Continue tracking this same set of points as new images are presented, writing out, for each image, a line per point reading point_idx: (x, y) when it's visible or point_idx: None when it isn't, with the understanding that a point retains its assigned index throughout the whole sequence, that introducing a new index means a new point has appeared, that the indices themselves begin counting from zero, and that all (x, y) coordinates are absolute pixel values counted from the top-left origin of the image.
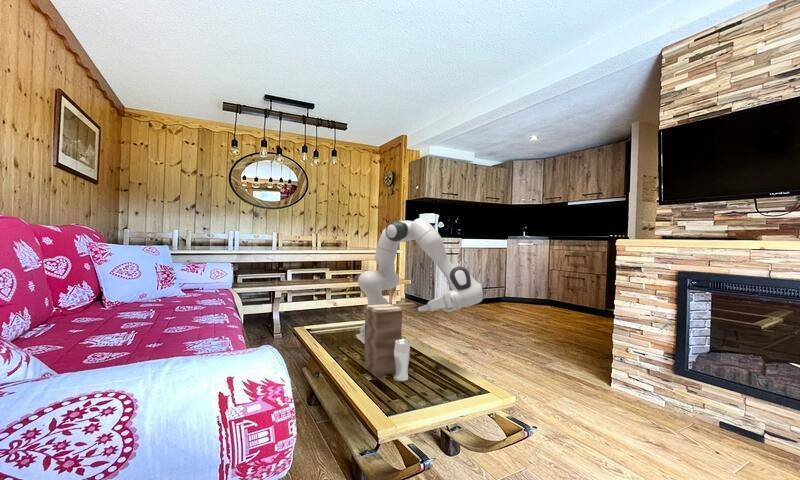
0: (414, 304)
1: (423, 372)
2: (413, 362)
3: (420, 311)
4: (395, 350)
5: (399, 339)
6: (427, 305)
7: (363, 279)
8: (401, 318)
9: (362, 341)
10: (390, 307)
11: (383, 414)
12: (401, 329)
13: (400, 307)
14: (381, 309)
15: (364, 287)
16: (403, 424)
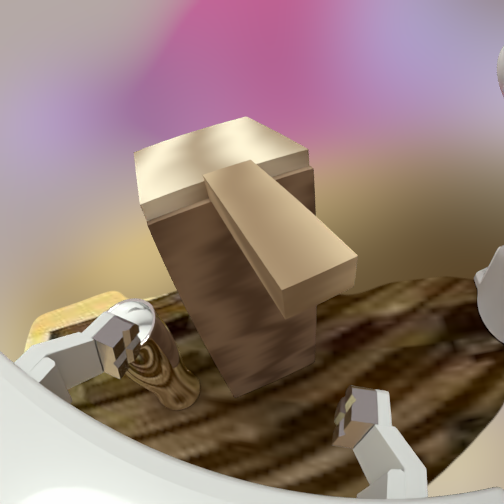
0: (278, 292)
1: (213, 470)
2: (322, 451)
3: (337, 413)
4: (127, 319)
5: (153, 320)
6: (22, 369)
7: (499, 55)
8: (165, 264)
9: (477, 272)
10: (174, 167)
11: (56, 327)
12: (187, 311)
13: (217, 207)
14: (142, 154)
15: (501, 89)
16: (26, 347)
